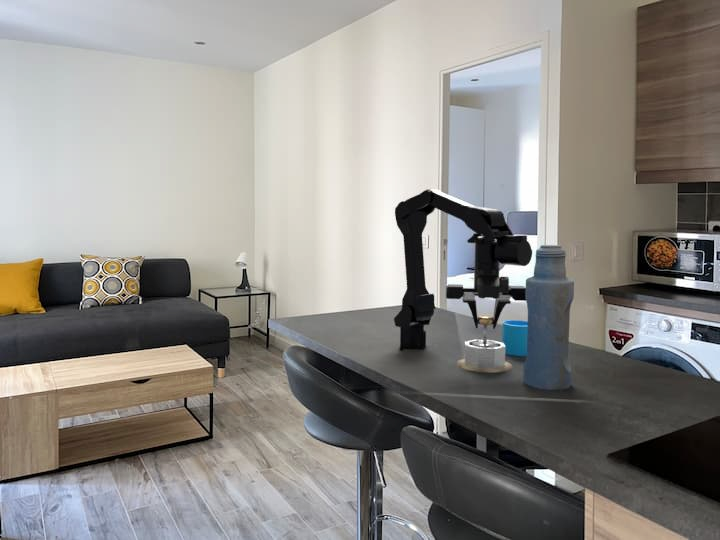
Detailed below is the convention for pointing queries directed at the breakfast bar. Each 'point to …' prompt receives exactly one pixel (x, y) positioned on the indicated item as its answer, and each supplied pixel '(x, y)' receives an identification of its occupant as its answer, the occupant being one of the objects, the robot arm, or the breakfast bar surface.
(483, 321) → the plunger
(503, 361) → the grey piece
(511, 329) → the mug
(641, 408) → the breakfast bar surface
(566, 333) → the bottle
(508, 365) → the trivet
